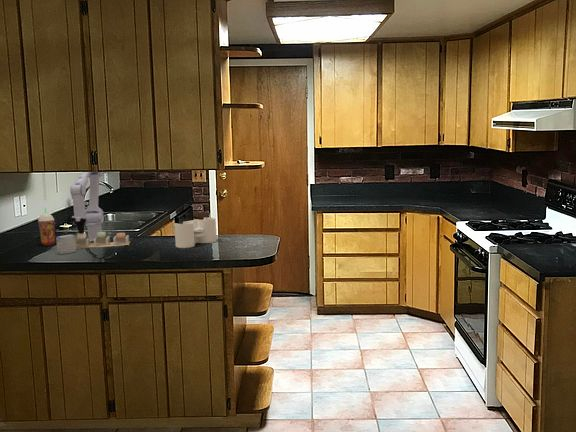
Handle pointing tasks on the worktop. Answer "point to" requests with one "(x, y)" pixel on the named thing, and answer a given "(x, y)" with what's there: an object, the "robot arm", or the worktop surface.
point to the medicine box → (66, 244)
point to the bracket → (195, 232)
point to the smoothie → (47, 228)
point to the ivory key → (81, 236)
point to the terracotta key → (120, 235)
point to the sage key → (101, 235)
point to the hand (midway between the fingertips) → (81, 233)
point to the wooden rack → (102, 242)
